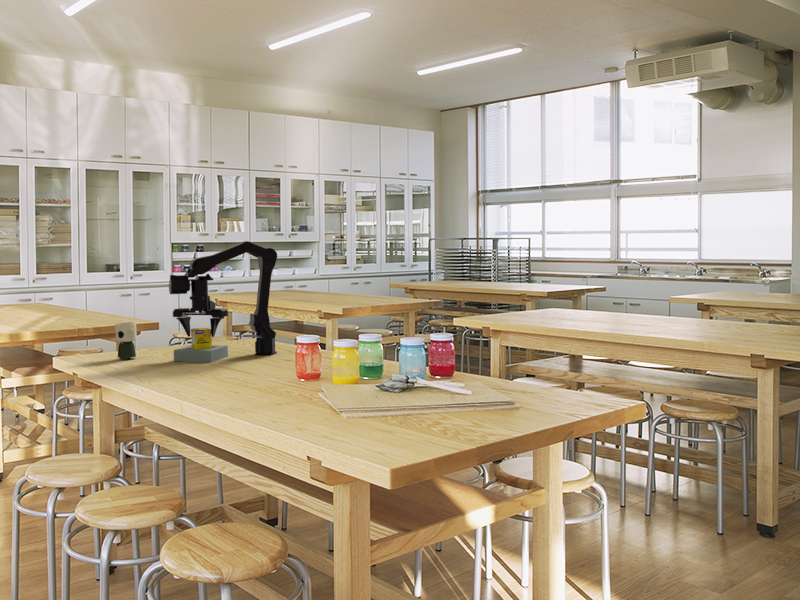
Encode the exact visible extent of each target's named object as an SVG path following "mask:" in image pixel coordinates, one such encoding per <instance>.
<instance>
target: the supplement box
mask: <svg viewBox="0 0 800 600" xmlns="http://www.w3.org/2000/svg"><path fill="white" fill-rule="evenodd" d="M190 337H191V345H192V349H200V350H207V349H211V348H212V345H213V344H212V342H213V341H212V335H211V328H208V327H197V328H193V327H192V328H190Z"/></svg>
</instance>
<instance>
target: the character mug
mask: <svg viewBox="0 0 800 600" xmlns="http://www.w3.org/2000/svg"><path fill="white" fill-rule="evenodd" d="M114 331H115V341H116V342H119V344H118V349H117V358H118V359H120V360H122V359H124V360H130V359H132V358H136V357H137V354H136V347H135V343H134V342H135V341H137V338H138V336H137V335H138V333H137V322H134V321H133V322H132V321H131V322H117V323H115V324H114Z"/></svg>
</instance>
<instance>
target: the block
mask: <svg viewBox="0 0 800 600" xmlns="http://www.w3.org/2000/svg"><path fill="white" fill-rule="evenodd" d="M224 357H225V358H227V357H229V346H228V345H227V344H226V345H225V344H224V345H223V344H221V345H220V344H212V348H211V349H207V350H200V349H192V344H191V345H188V346H184V347H181V348H177V349H173V361H174V362H175V361H182V362H183V361H184V362H185V361H186V362H187V363H213V362H216V361H218V359H219V360H222V359H224ZM221 358H222V359H221ZM182 362H181V363H182ZM186 362H185V363H186Z"/></svg>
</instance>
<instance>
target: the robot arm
mask: <svg viewBox="0 0 800 600" xmlns="http://www.w3.org/2000/svg"><path fill="white" fill-rule="evenodd" d="M244 254H248V255H250V256H252V257H255V258H257V264H258V265H257V266H258V269H259V276H258V287H257V295H256V305H255V309H254V312H253V313H250V314H249V322H248V325H250V329H251V331H252V332H254V333H255V336H256V338H255V342H254V347H255V349H254V350H255V351H254V352H255V353H254V355H257V356H258V355H259V356H261V355H262V356H266V355H267V356H268V355H269V356H272V355H275V354H277V352H278V351H276V335H277V332H276V331H275V330H274V329H273V328H271V324H270V323H271V321H270V316H269V299H270V293H271V292H270V291H271V284H272V283H271V281H272V273H273V271H274V269H275V266H276V263H277V260H278V252H277V251H276V250H275V249H274V248H272V247H263V246H260V245H258V244H254V243H253V242H250V241H248V240H245V241H242V242H240V243H238V244H236V245H234V246H231V247H229V248H226V249H223V250H221V251H219V252H216V253H214V254H211V255H206V256H201V257H197V258H193V259H191V261H190V263H189V268H188V270H187V271H186V272H185V273H184V274H183V275H181V274H177V275H176V274H170V275H169V282H168V292H169V295H187V294H188V292H191V296H189V300H191V307H189V308H188V307H184V308H183V307H180V308H179V307H178V308H174V309H173V311H172V318H175V319H176V320H178V321H179V323H180V325H181V326H182V327H183V329H184V331H185V333H186V336H187V337H189V338H190V337H191V323H190V322H191V319H192V316H211V318H209V321H210V323H209V324H210V329H211V338H214V337H215V335H216V332H217V328H218V326H219V323H220V322H221V320H223V319H225V317H229V311H228V309H227V308H226V307H225V308H222V307H221V308H218V307H217V308H216V304H217V303H216V302H215V301H213V300H211V296H210V295H209V285H208V284H209V281H214V278H213V277H212V276H211V275H210V273H208V272H209V271H211V270H213V268H215V267H216V266H218V265H219V264H222V263H225V262H227V261H228V260H232V259H234V258H236V257H238V256H241V255H244ZM204 274H205V275H204ZM195 277H196V278H195ZM190 278H191V279H190Z"/></svg>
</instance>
